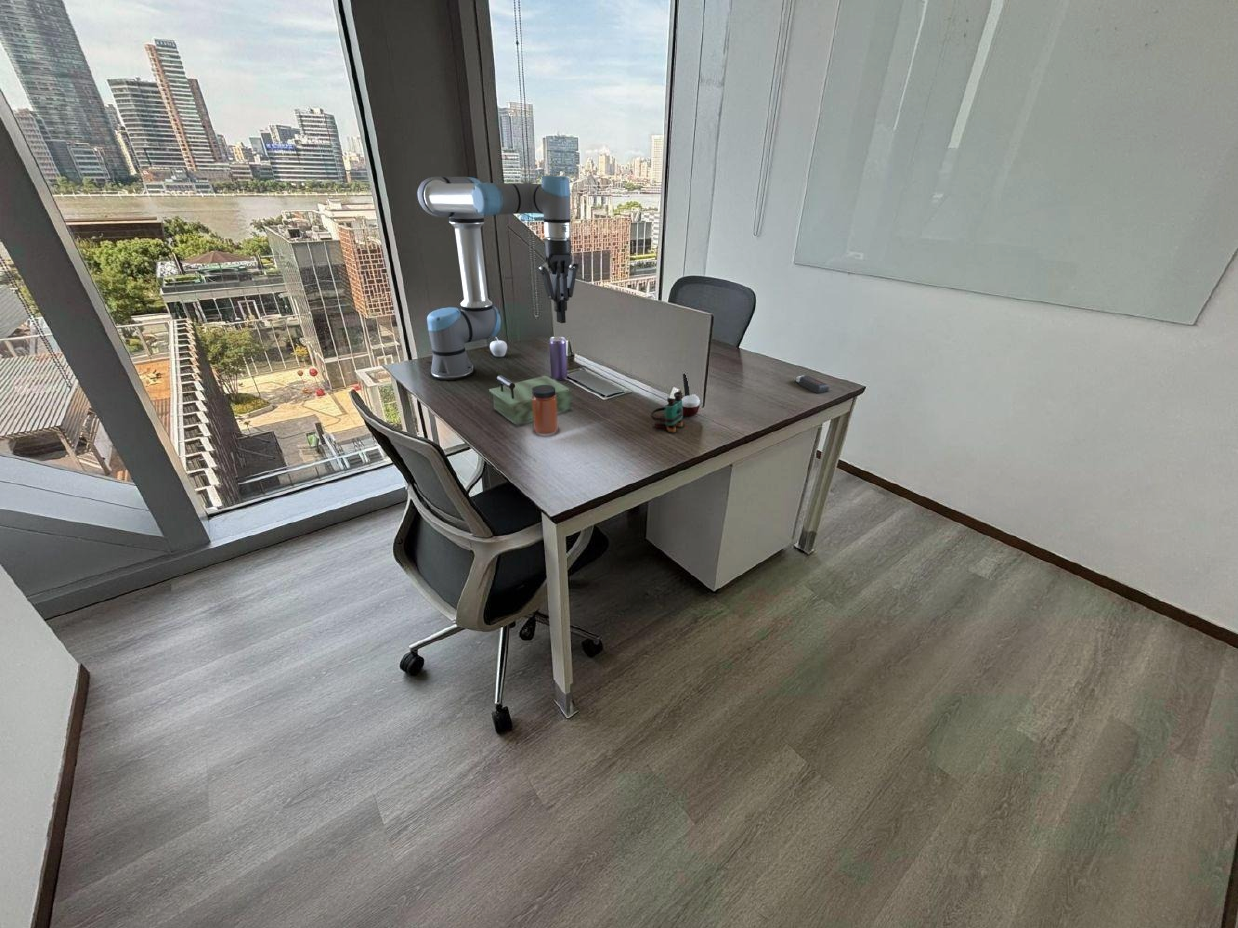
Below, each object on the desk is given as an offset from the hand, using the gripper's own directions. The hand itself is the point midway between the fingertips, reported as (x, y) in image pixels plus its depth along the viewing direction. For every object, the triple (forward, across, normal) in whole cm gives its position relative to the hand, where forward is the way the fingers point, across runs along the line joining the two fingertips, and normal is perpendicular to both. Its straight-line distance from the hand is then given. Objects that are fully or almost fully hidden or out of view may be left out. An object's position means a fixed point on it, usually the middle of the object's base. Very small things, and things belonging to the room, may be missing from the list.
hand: (561, 322), depth 151 cm
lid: (+20, -13, 0) cm, 24 cm away
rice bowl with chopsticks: (+27, +27, -32) cm, 50 cm away
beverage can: (+27, +10, +20) cm, 35 cm away
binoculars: (+27, +15, -34) cm, 46 cm away
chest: (+27, -12, 0) cm, 29 cm away
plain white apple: (+27, +4, +57) cm, 63 cm away
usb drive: (+27, +81, -42) cm, 95 cm away
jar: (+27, -16, -16) cm, 35 cm away
